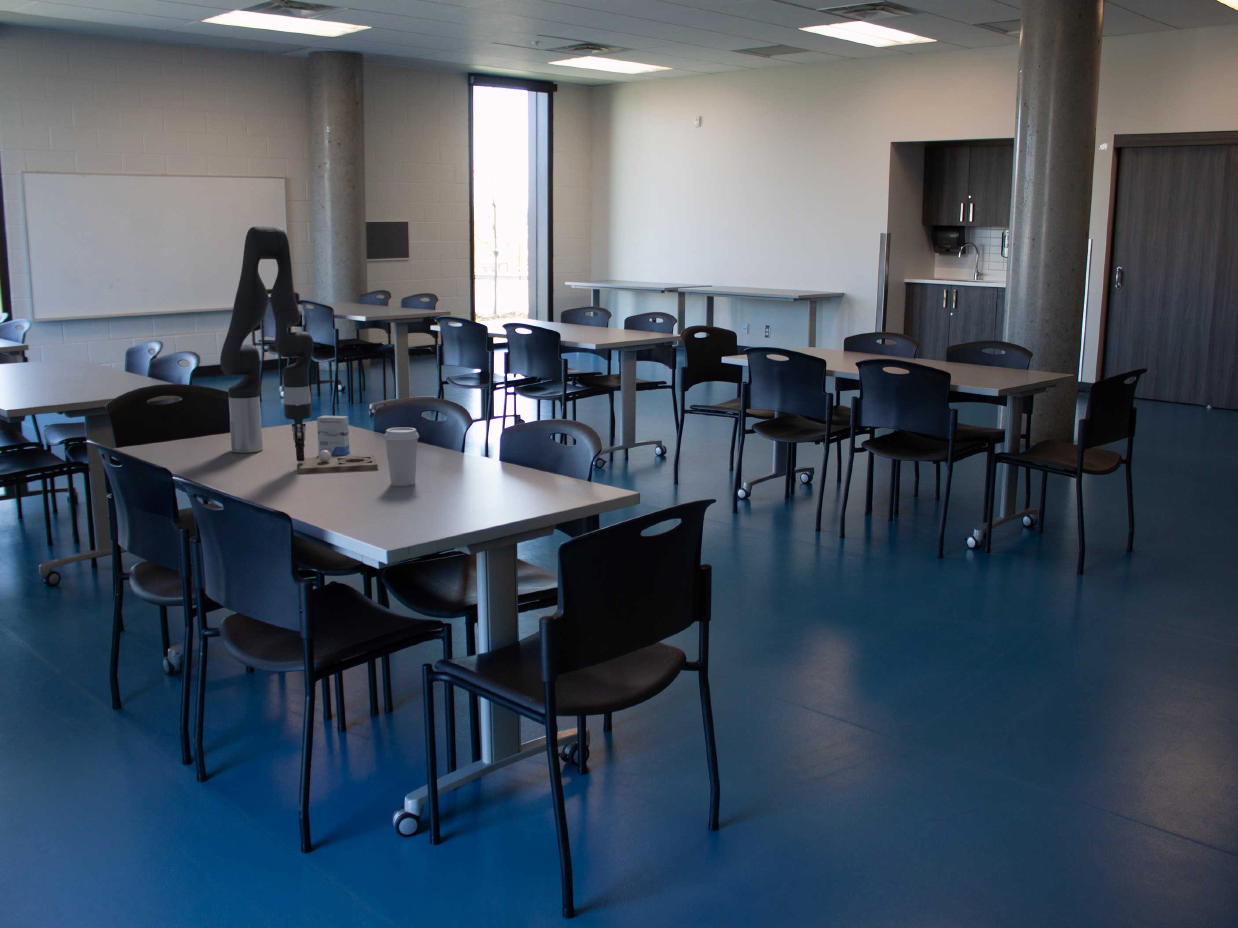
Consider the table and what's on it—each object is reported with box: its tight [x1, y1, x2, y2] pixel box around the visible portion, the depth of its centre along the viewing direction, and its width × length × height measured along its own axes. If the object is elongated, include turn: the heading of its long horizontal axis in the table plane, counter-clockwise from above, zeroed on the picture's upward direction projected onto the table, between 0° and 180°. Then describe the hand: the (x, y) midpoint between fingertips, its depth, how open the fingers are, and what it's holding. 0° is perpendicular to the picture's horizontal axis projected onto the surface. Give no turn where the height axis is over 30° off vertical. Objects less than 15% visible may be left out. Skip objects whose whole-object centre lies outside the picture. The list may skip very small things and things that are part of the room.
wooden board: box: [297, 454, 379, 474], centre depth 320 cm, size 22×15×2 cm
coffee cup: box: [383, 426, 420, 487], centre depth 297 cm, size 10×10×15 cm
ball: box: [318, 450, 332, 462], centre depth 319 cm, size 4×4×4 cm
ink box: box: [316, 415, 350, 456], centre depth 338 cm, size 8×5×12 cm, turn 84°
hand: (300, 460), depth 317 cm, fingers closed
